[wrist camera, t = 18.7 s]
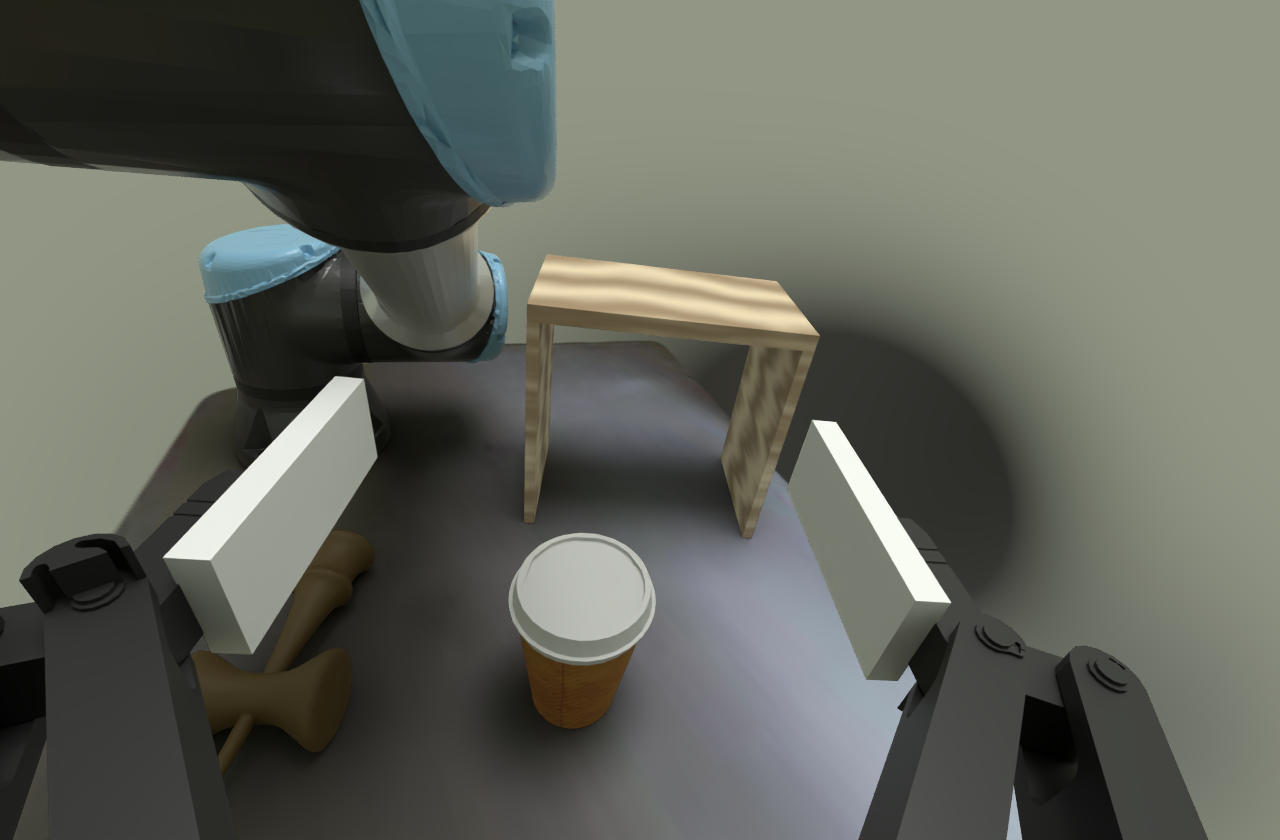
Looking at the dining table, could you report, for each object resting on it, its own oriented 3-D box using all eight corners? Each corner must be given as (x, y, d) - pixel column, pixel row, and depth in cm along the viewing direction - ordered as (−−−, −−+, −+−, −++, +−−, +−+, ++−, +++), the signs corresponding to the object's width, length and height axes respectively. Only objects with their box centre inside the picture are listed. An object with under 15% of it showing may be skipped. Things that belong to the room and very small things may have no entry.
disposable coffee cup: (570, 611, 46) (579, 508, 39) (659, 681, 41) (686, 578, 35) (481, 692, 39) (475, 583, 32) (577, 785, 35) (592, 682, 28)
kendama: (408, 571, 48) (302, 833, 31) (295, 569, 47) (121, 838, 30) (399, 521, 45) (275, 781, 28) (278, 518, 44) (73, 785, 27)
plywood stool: (751, 538, 56) (819, 335, 44) (524, 522, 54) (527, 304, 41) (728, 458, 68) (776, 281, 55) (540, 443, 66) (547, 254, 53)
